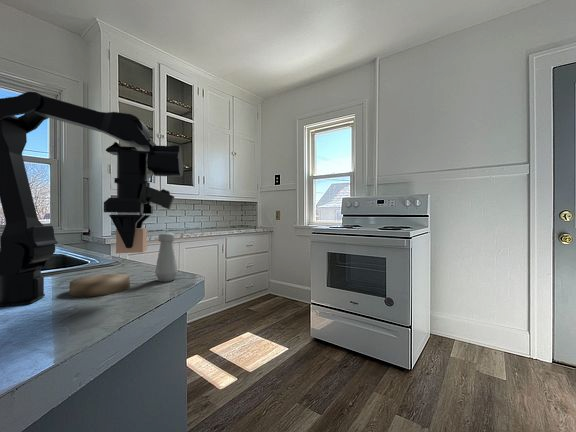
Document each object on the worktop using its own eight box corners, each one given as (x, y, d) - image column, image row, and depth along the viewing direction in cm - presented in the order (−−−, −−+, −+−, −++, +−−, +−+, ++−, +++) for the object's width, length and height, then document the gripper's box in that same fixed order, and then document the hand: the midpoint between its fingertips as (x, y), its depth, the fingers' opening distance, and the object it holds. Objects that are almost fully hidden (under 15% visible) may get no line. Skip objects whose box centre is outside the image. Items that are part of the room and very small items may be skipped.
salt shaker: (172, 282, 75) (172, 233, 75) (151, 282, 75) (151, 233, 75) (181, 277, 81) (181, 232, 81) (161, 277, 81) (161, 232, 81)
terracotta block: (115, 253, 58) (116, 229, 58) (121, 250, 63) (121, 228, 63) (142, 252, 60) (142, 228, 60) (146, 249, 65) (146, 228, 65)
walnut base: (59, 298, 60) (59, 286, 60) (80, 285, 71) (80, 275, 71) (123, 293, 64) (123, 282, 64) (134, 282, 75) (134, 272, 75)
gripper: (168, 170, 55) (168, 250, 55) (174, 182, 73) (174, 242, 73) (103, 167, 52) (102, 252, 52) (126, 180, 69) (125, 243, 69)
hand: (131, 246), depth 61 cm, fingers closed on terracotta block, 5 cm apart
